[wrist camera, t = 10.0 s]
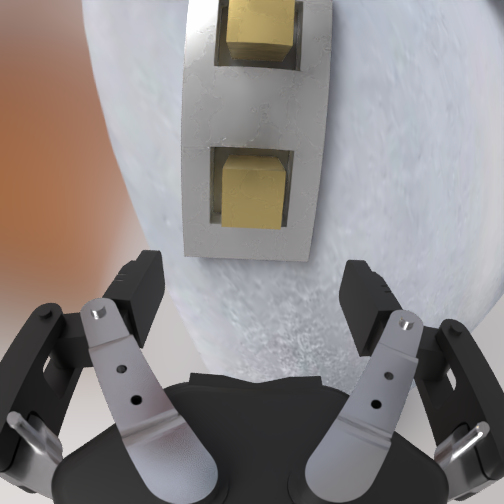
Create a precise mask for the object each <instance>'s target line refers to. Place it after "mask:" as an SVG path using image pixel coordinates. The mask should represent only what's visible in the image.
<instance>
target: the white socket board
mask: <svg viewBox="0 0 504 504" xmlns="http://www.w3.org/2000/svg"><path fill="white" fill-rule="evenodd" d="M222 7H229V0H189V9H188V18H187V29H186V40H185V53H184V69H183V88H182V118H181V187H182V218H183V239H184V256H187V257H208V258H230V259H252V260H276V261H300V262H308V259H309V253H310V247H311V241H312V234H313V227H314V221H315V214H316V207H317V199H318V192H319V184H320V176H321V167H322V159H323V149H324V140H325V130H326V119H327V107H328V94H329V80H330V63H331V41H332V0H295V7H294V11H295V12H298V25H297V46H296V63H295V71H294V70H285V69H274V68H260V67H236V66H218V58H219V43H220V30H221V18H222ZM214 147H244V148H263V149H278V150H289V159H288V171H287V182H286V192H285V203H284V213H283V216H282V221H281V230H278V229H258V228H236V227H221V222H222V213H216V212H213V194H214Z"/></svg>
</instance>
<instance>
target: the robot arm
mask: <svg viewBox="0 0 504 504" xmlns="http://www.w3.org/2000/svg"><path fill="white" fill-rule="evenodd" d="M164 290H165V279H164V271H163V263H162V255H161V252H160V251H155V250H143V251H142V252H141V254H140V255H139V256H138V258H137V259H136V261H130V262H129V263H127V264H126V265H124V266H123V267H122V268H121V270H120V271H119V273H118V275H117V276H116V277H115V279H114V281H113V282H112V283H111V285H110V286H109V288H108V289H107V291H106V292H105V294H104V295H103V297H102V298H97V299H93V300H91V301H89V302H87V303H86V304H85V305H84V306H83V307H82V309H81V312H79V313H71V314H63V312H62V309H61V307H60V306H59V305H58V304H56V303H46V304H43V305H41V306H39V307H38V308H36V309H35V310H34V311H33V312H32V314H31V315H30V317H29V318H28V320H27V321H26V323H25V324H24V326H23V327H22V329H21V330H20V332H19V333H18V334H17V336H16V338H15V339H14V341H13V342H12V344H11V345H10V347H9V349H8V350H7V352H6V354H5V355H4V357H3V359H2V360H1V362H0V477H1V478H3V479H4V480H6V481H8V482H9V483H11V484H13V485H16V486H17V487H19V488H21V489H23V490H24V491H26V492H28V493H39V494H41V495H43V496H45V497H48V498H50V499H52V500H53V501H54V504H447V502H449V501H451V500H458V501H462V500H465V499H467V498H469V497H471V496H473V495H475V494H476V493H478V492H480V491H482V490H483V489H485V488H487V487H488V486H490V485H491V484H493V483H495V482H496V481H498V480H499V479H501V478H502V477H504V393H503V390H502V388H501V387H500V385H499V383H498V381H497V379H496V377H495V375H494V373H493V372H492V370H491V368H490V366H489V364H488V362H487V361H486V359H485V357H484V356H483V354H482V352H481V350H480V349H479V347H478V346H477V344H476V342H475V341H474V339H473V337H472V336H471V334H470V333H469V331H468V329H467V328H466V327H465V326H464V325H463V324H462V323H460V322H458V321H456V320H453V319H446V320H444V321H443V322H442V323H441V325H440V327H439V329H437V328H432V327H426V326H423V322H422V320H421V319H420V318H419V317H418V316H417V315H416V314H414V313H412V312H410V311H407V310H403V309H402V307H401V306H400V304H399V302H398V301H397V299H396V298H395V296H394V294H393V293H391V290H390V288H389V287H388V285H387V284H386V282H385V280H384V279H383V278H382V277H381V276H380V275H378V274H377V273H376V272H372V271H371V269H370V267H369V266H368V264H367V263H366V261H364V260H348V261H347V263H346V266H345V270H344V274H343V278H342V282H341V286H340V290H339V302H340V305H341V307H342V310H343V313H344V315H345V318H346V321H347V323H348V326H349V329H350V331H351V334H352V337H353V339H354V342H355V345H356V348H357V351H358V353H359V356H360V357H361V356H370V357H371V358H370V360H369V362H368V364H367V366H366V368H365V370H364V371H363V373H362V375H361V377H360V379H359V381H358V383H357V384H356V386H355V388H354V390H353V391H352V393H351V395H350V396H349V395H348V394H346V393H344V392H342V391H340V390H338V389H335V388H332V387H328V386H324V385H322V381H321V376H308V377H287V378H282V379H278V380H273V381H268V382H263V383H252V382H247V381H243V380H239V379H235V378H231V377H228V376H224V375H213V374H199V373H191V374H190V380H189V382H184V383H179V384H175V385H172V386H169V387H167V388H164V389H162V387H161V386H160V384H159V382H158V380H157V379H156V377H155V375H154V373H153V372H152V370H151V368H150V366H149V365H148V363H147V361H146V359H145V357H144V356H143V354H142V352H141V350H140V348H143V346H144V343H145V341H146V338H147V336H148V333H149V331H150V328H151V325H152V323H153V320H154V318H155V315H156V313H157V310H158V308H159V305H160V303H161V300H162V298H163V295H164ZM48 356H49V357H50V358H51V359H50V361H49V363H48V365H47V367H46V369H45V371H44V373H43V367H44V364H45V362H46V360H47V358H48ZM84 367H94V369H95V372H96V375H97V378H98V381H99V383H100V386H101V389H102V392H103V394H104V397H105V399H106V402H107V404H108V407H109V409H110V411H111V414H112V416H113V419H114V421H115V424H113V425H112V426H110V427H109V428H108V429H106V430H105V431H103V432H102V433H100V434H99V435H97V436H96V437H95V438H93V439H92V440H90V441H89V442H87V443H86V444H84V445H83V446H81V447H80V448H78V449H77V450H76V451H74V452H72V453H71V454H69V455H68V456H67V457H65V458H64V459H63V456H62V452H63V450H62V444H61V442H60V440H59V438H58V435H59V432H60V429H61V426H62V423H63V420H64V417H65V414H66V411H67V409H68V406H69V403H70V400H71V398H72V395H73V392H74V390H75V387H76V384H77V382H78V379H79V377H80V374H81V372H82V369H83V368H84ZM450 368H451V370H452V372H453V374H454V376H455V378H456V387H455V390H453V388H452V385H451V383H450V381H449V379H448V377H447V372H448V370H449V369H450ZM413 378H414V380H415V383H416V385H417V388H418V391H419V394H420V396H421V399H422V402H423V405H424V407H425V411H426V414H427V417H428V420H429V423H430V426H431V429H432V432H433V436H434V439H435V442H436V446H437V448H436V450H435V454H434V460H433V459H432V458H430V457H429V456H428V455H426V454H425V453H424V452H422V451H421V450H419V449H418V448H417V447H415V446H414V445H413V444H411V443H410V442H409V441H407V440H406V439H405V438H404V437H402V436H401V435H400V434H398V433H397V432H395V431H394V430H395V427H396V425H397V422H398V420H399V417H400V415H401V412H402V409H403V407H404V404H405V401H406V398H407V396H408V393H409V390H410V387H411V384H412V381H413Z"/></svg>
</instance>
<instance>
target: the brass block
mask: <svg viewBox="0 0 504 504" xmlns="http://www.w3.org/2000/svg"><path fill="white" fill-rule="evenodd" d="M285 179H286V171H285V169H284V167H283V166H282V164H281V162H280V161H279V159H278V157H271V156H255V155H231V154H229V156H228V158H227V160H226V162H225V165H224V167H223V171H222V222H221V227H236V228H258V229H278V230H281V221H282V211H283V200H284V190H285Z"/></svg>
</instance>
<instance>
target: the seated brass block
mask: <svg viewBox="0 0 504 504" xmlns="http://www.w3.org/2000/svg"><path fill="white" fill-rule="evenodd" d="M294 7H295V0H229V12H228V24H227V37H226V43H227V46H228V49H229V51H230V54H231V57H232V59H242V60H262V61H275V62H282V61H283V60H284V58H285V56H286V55H287V53H288V52H289V50H290V49H291V47H292V46H293V29H294Z"/></svg>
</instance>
